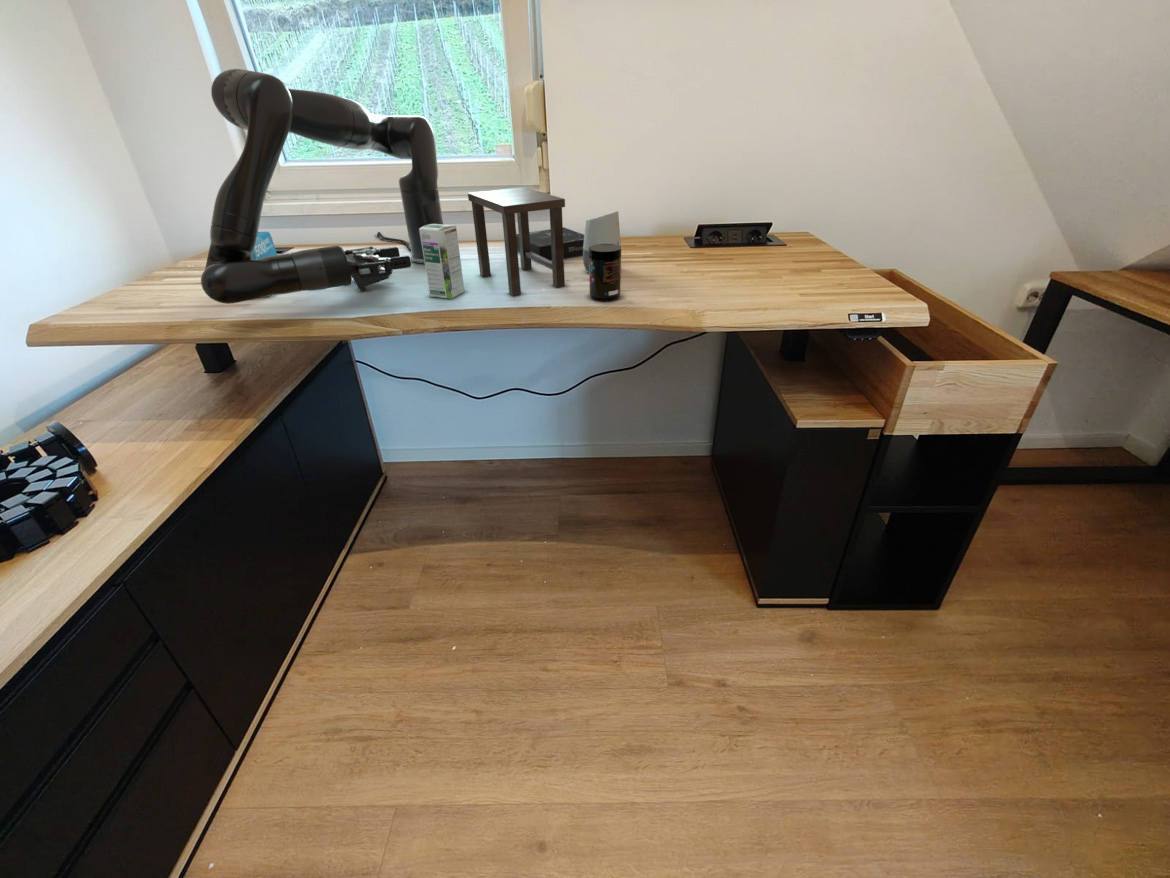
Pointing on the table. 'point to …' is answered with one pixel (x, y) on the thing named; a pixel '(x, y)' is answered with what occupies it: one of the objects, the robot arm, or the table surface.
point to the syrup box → (442, 260)
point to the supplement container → (605, 271)
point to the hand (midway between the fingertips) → (404, 256)
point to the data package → (263, 247)
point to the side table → (521, 204)
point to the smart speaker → (600, 233)
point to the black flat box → (542, 243)
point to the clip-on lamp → (367, 280)
